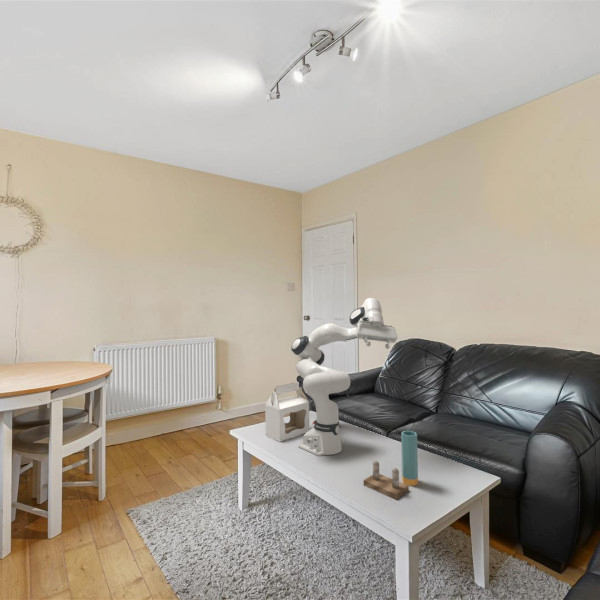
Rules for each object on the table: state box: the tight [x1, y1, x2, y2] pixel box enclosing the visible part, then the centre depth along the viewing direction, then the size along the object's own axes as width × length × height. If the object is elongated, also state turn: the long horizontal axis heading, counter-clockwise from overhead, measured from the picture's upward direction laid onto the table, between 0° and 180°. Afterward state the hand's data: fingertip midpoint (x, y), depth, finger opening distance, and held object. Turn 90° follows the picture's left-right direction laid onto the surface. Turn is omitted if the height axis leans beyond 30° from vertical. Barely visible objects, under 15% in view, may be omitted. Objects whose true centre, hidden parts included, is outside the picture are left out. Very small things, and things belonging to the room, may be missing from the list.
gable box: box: [264, 381, 310, 443], centre depth 201 cm, size 22×13×28 cm, turn 131°
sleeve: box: [400, 430, 419, 487], centre depth 145 cm, size 6×6×20 cm
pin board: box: [363, 460, 409, 501], centre depth 141 cm, size 15×9×9 cm, turn 43°
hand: (378, 346), depth 169 cm, fingers open, 8 cm apart
